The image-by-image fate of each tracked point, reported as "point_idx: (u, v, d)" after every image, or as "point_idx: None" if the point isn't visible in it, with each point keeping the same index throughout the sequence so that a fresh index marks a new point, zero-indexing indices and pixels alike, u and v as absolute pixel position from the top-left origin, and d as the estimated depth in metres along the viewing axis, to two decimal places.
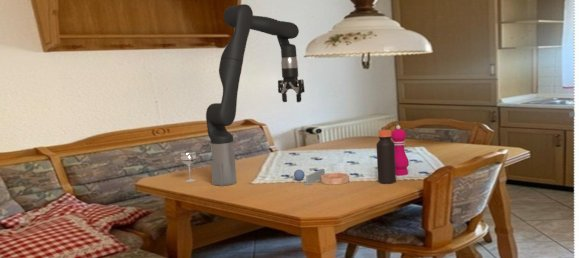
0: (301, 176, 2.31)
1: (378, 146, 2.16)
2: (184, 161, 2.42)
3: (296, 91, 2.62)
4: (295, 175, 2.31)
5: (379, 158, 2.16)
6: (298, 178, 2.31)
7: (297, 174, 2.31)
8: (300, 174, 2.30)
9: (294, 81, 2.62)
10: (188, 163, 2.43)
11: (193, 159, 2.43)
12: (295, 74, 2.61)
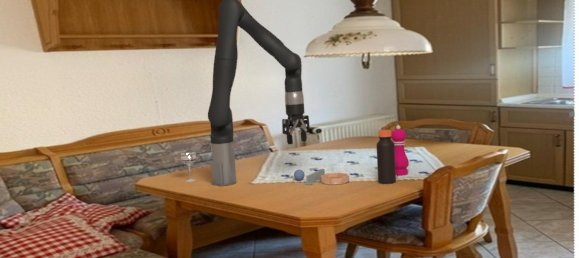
0: (301, 176, 2.31)
1: (378, 146, 2.16)
2: (184, 161, 2.42)
3: (305, 128, 2.33)
4: (295, 175, 2.31)
5: (379, 158, 2.16)
6: (298, 178, 2.31)
7: (297, 174, 2.31)
8: (300, 174, 2.30)
9: (302, 118, 2.32)
10: (188, 163, 2.43)
11: (193, 159, 2.43)
12: None
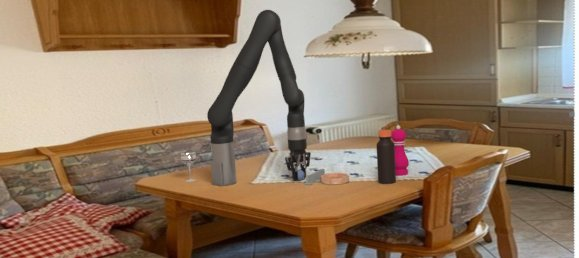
0: (301, 176, 2.31)
1: (378, 146, 2.16)
2: (184, 161, 2.42)
3: (305, 165, 2.33)
4: None
5: (379, 158, 2.16)
6: (298, 178, 2.31)
7: None
8: (300, 174, 2.30)
9: (305, 152, 2.33)
10: (188, 163, 2.43)
11: (193, 159, 2.43)
12: None
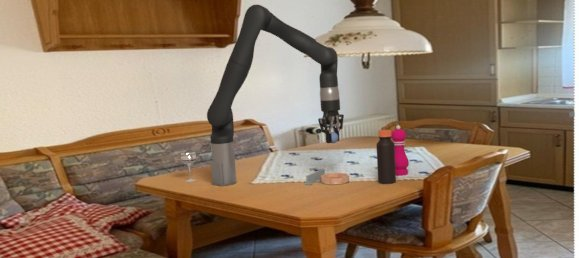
0: (335, 138, 2.22)
1: (378, 146, 2.16)
2: (184, 161, 2.42)
3: (338, 128, 2.25)
4: None
5: (379, 158, 2.16)
6: (332, 141, 2.22)
7: None
8: (334, 136, 2.22)
9: (338, 114, 2.25)
10: (188, 163, 2.43)
11: (193, 159, 2.43)
12: None
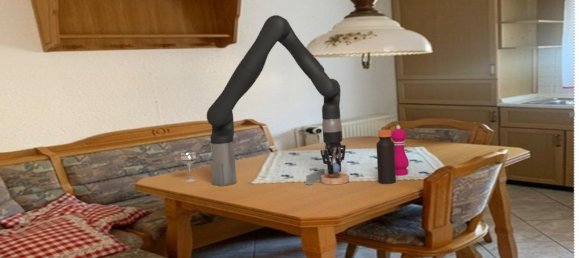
0: (337, 170, 2.23)
1: (378, 146, 2.16)
2: (184, 161, 2.42)
3: (340, 159, 2.26)
4: None
5: (379, 158, 2.16)
6: (334, 172, 2.24)
7: (333, 167, 2.23)
8: (336, 168, 2.23)
9: (340, 145, 2.26)
10: (188, 163, 2.43)
11: (193, 159, 2.43)
12: None
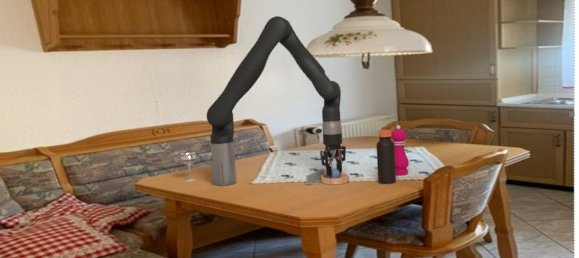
0: (337, 175, 2.24)
1: (378, 146, 2.16)
2: (184, 161, 2.42)
3: (341, 160, 2.27)
4: None
5: (379, 158, 2.16)
6: (333, 177, 2.24)
7: (333, 173, 2.23)
8: (335, 173, 2.23)
9: (340, 147, 2.26)
10: (188, 163, 2.43)
11: (193, 159, 2.43)
12: None
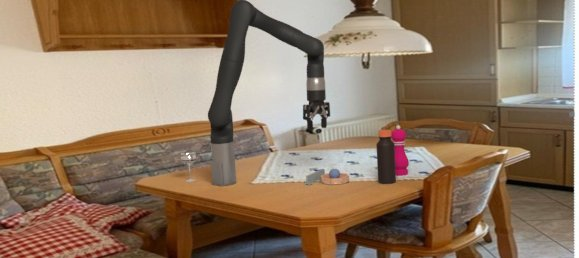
0: (337, 175, 2.24)
1: (378, 146, 2.16)
2: (184, 161, 2.42)
3: (325, 115, 2.32)
4: (330, 174, 2.24)
5: (379, 158, 2.16)
6: (334, 177, 2.24)
7: (333, 173, 2.23)
8: (336, 173, 2.23)
9: (323, 104, 2.30)
10: (188, 163, 2.43)
11: (193, 159, 2.43)
12: None
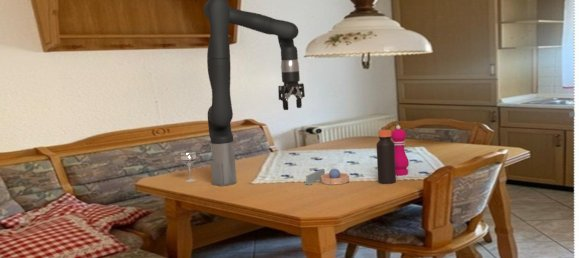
0: (337, 175, 2.24)
1: (378, 146, 2.16)
2: (184, 161, 2.42)
3: (300, 96, 2.45)
4: (331, 174, 2.24)
5: (379, 158, 2.16)
6: (334, 177, 2.24)
7: (333, 173, 2.23)
8: (336, 173, 2.23)
9: (298, 85, 2.44)
10: (188, 163, 2.43)
11: (193, 159, 2.43)
12: None
